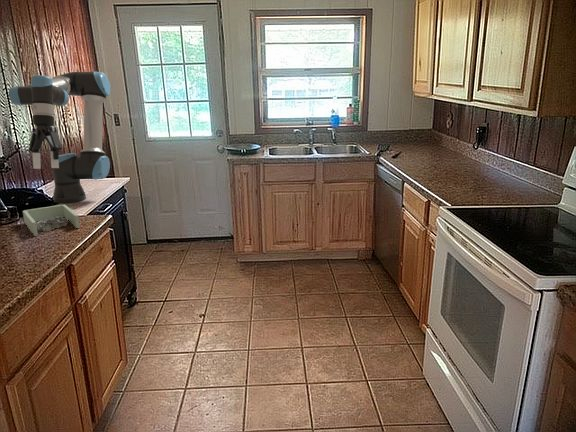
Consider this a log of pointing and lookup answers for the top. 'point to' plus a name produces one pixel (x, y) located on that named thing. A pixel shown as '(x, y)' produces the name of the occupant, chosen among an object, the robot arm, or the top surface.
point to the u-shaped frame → (48, 216)
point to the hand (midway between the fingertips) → (45, 168)
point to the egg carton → (52, 223)
